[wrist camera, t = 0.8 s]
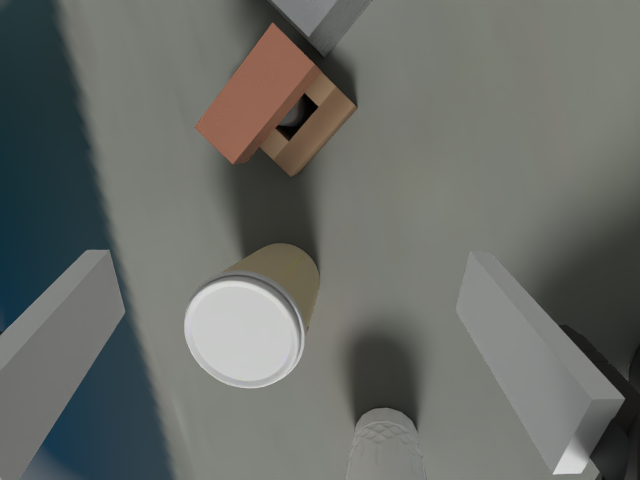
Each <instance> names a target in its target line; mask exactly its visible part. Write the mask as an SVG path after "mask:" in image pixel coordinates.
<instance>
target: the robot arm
mask: <svg viewBox="0 0 640 480" xmlns="http://www.w3.org/2000/svg"><path fill="white" fill-rule="evenodd" d="M455 311H456V312H457V314H458V316H459V317H460V319H461V321H462V322H463V324H464V326H465V327H466V329H467V331H468V333H469V334H470V336H471V338H472V339H473V341H474V343H475V344H476V346H477V348H478V349H479V351H480V353H481V354H482V356H483V358H484V360H485V361H486V363H487V365H488V366H489V368H490V370H491V371H492V373H493V375H494V376H495V378H496V380H497V381H498V383H499V385H500V387H501V388H502V390H503V392H504V393H505V395H506V397H507V398H508V400H509V402H510V403H511V405H512V407H513V409H514V410H515V412H516V414H517V415H518V417H519V419H520V420H521V422H522V424H523V425H524V427H525V429H526V430H527V432H528V434H529V436H530V437H531V439H532V441H533V442H534V444H535V446H536V447H537V449H538V451H539V452H540V454H541V456H542V458H543V459H544V461H545V463H546V464H547V466H548V468H549V469H550V471H551V473H552V474H576V473H582V471H583V469H584V468H585V466H586V464H587V463H588V461H589V459H590V458H591V460H592V461H593V463H594V464H595V466H596V467H597V468H598V470H599V471H600V473H599V474H598V476H597V478H596V479H595V480H640V348H639V349H638V351H637V353H636V355H635V357H634V360H633V363H632V366H631V371H630V383H629V382H628V381H627V380H626V379H625V378H624V377H623V376H622V375H621V374H620V373H619V372H618V371H617V370H616V369H615V368H614V367H613V366H612V365H611V364H608V361H607V360H606V359H605V358H604V357H603V356H602V355H601V354H600V353H598V352H597V350H596V348H595V347H594V346H593V345H592V344H591V343H590V342H589V341H588V340H587V339H586V338H585V337H584V336H582V335H581V334H579V333H577V332H576V331H574V330H573V329H571V328H570V327H568V326H567V325H557V324H556V323H555V322H554V321H553V320H552V319H551V318H550V316H549V315H548V314H547V313H546V312H545V311H544V310H543V309H542V308H541V307H540V306H539V305H538V303H537V302H536V301H535V300H534V299H533V298H532V297H531V296H530V295H529V294H528V293H527V291H526V290H525V289H524V288H523V287H522V286H521V285H520V284H519V283H518V282H517V281H516V280H515V278H514V277H513V276H512V275H511V274H510V273H509V272H508V271H507V270H506V269H505V268H504V267H503V265H502V264H501V263H500V262H499V261H498V260H497V259H496V258H495V257H494V256H493V255H492V254H491V252H470V254H469V258H468V262H467V266H466V270H465V274H464V278H463V282H462V286H461V290H460V294H459V298H458V302H457V306H456V310H455ZM124 313H125V309H124V305H123V302H122V298H121V294H120V290H119V286H118V282H117V278H116V274H115V270H114V266H113V263H112V258H111V255H110V251H109V250H87V251H85V252H84V254H82V255H81V256H80V257H79V258H78V259H77V260H76V261H75V262H74V263H73V264H72V265H71V266H70V267H69V268H68V269H67V270H66V271H65V272H64V273H63V274H62V275H61V276H60V277H59V278H58V279H57V280H56V281H55V282H54V283H53V284H52V285H51V286H50V287H49V288H48V289H47V290H46V291H45V292H44V293H43V294H42V295H41V296H40V297H39V298H38V299H37V300H36V301H35V302H34V303H33V304H32V305H31V306H30V307H29V308H28V309H27V310H26V311H25V312H24V313H23V314H22V315H21V316H20V317H19V318H18V319H17V320H15V321H14V323H12V325H10V326H9V327H8V328H7V329H6V330H5V331H4V332H0V480H19V478H20V477H21V475H22V474H23V472H24V470H25V469H26V467H27V466H28V464H29V462H30V461H31V459H32V458H33V456H34V454H35V453H36V451H37V450H38V448H39V447H40V445H41V444H42V442H43V440H44V439H45V437H46V436H47V434H48V433H49V431H50V430H51V428H52V426H53V425H54V423H55V422H56V420H57V418H58V417H59V415H60V414H61V412H62V411H63V409H64V408H65V406H66V404H67V403H68V401H69V400H70V398H71V397H72V395H73V393H74V392H75V390H76V389H77V387H78V386H79V384H80V382H81V381H82V379H83V378H84V376H85V375H86V373H87V371H88V370H89V368H90V367H91V365H92V364H93V362H94V360H95V359H96V357H97V356H98V354H99V353H100V351H101V349H102V348H103V346H104V345H105V343H106V341H107V340H108V338H109V337H110V335H111V334H112V332H113V331H114V329H115V327H116V326H117V324H118V323H119V321H120V319H121V318H122V316H123V315H124Z"/></svg>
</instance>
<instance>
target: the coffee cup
mask: <svg viewBox="0 0 640 480" xmlns="http://www.w3.org/2000/svg"><path fill="white" fill-rule="evenodd" d="M319 284H320V279H319V273H318V270H317V267H316V265H315V263H314V262H313V260H312V259H311V257H310V256H309V255H308V254H307V253H306V252H305V251H303V250H301V249H300V248H298V247H296V246H294V245H291V244H285V243H275V244H271V245H268V246H265V247H263V248H261V249H259V250H257V251H256V252H254V253H252V254H251V255H249V256H247V257H246V258H244V259H243V260H241V261H239V262H238V263H236V264H234V265H233V266H231V267H230V268H228V269H226V270H225V271H223V272H222V273H220V274H217V275H215V276H213V277H211V278H209V279H208V280H206V281H205V282H203V283H202V284H201V285H200V286H199V287H198V288H197V289H196V291H195V292H194V293H193V295H192V296H191V298H190V300H189V303H188V305H187V309H186V314H185V321H184V330H185V337H186V341H187V344H188V346H189V349H190V351H191V353H192V355H193V356H194V358H195V359H196V361H197V362H198V363H199V364H200V366H201V367H202V368H203V369H204V370H206V371H207V372H208V373H209V374H210V375H212V376H213V377H215V378H216V379H218V380H220V381H222V382H224V383H226V384H229V385H232V386H236V387H241V388H258V387H263V386H267V385H270V384H272V383H274V382H276V381H278V380H280V379H282V378H283V377H285V376H286V375H287V374H289V373H290V372H291V371H292V370H293V369H294V367H295V366H296V364H297V363H298V361H299V360H300V358H301V355H302V353H303V349H304V345H305V339H306V334H307V331H308V328H309V324H310V321H311V317H312V314H313V310H314V306H315V303H316V299H317V295H318V291H319Z"/></svg>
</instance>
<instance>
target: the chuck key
mask: <svg viewBox="0 0 640 480" xmlns="http://www.w3.org/2000/svg"><path fill="white" fill-rule="evenodd" d="M321 72H322V71H321V70H320V69H319V68H318V67H317V66H316V65H315V64H314V63H313V62H312V61H311V60H310V59H309V58H308V57H307V56H306V55H305V54H304V53H303V52H302V51H301V50H300V49H299V48H298V47H297V46H296V45H295V44H294V43H293V42H292V41H291V40H290V39H289V38H288V37H287V36H286V35H285V34H284V33H283V32H282V31H281V30H280V29H279V28H278V27H277V26H276V25H275V24H274V23H272V24H271V25H270V27H269V28H268V29H267V31H266V32H265V33H264V35H263V36H262V37H261V39H260V40H259V41H258V43H257V44H256V45H255V47H254V48H253V49H252V51H251V52H250V53H249V55H248V56H247V57H246V59H245V60H244V61H243V63H242V64H241V65H240V67H239V68H238V69H237V71H236V72H235V73H234V75H233V76H232V78H231V79H230V80H229V82H228V83H227V84H226V86H225V87H224V88H223V90H222V91H221V92H220V94H219V95H218V96H217V98H216V99H215V100H214V102H213V103H212V104H211V106H210V107H209V108H208V110H207V111H206V112H205V114H204V115H203V116H202V118H201V119H200V120H199V122H198V123H197V124H196V126H195V127H194V128H195V129H196V130H197V131H198V132H199V133H200V134H202V135H203V136H204V137H205V138H206V139H207V140H208V141H209V142H210V143H211V144H212V145H213V146H214V147H215V148H216V149H217V150H218V151H219V152H220V153H221V154H222V155H223V156H224V157H226V158H227V159H228V160H229V161H230V162H231V163H232V164H238V163H245V162H247V161H248V160H249V159H250V158H251V157H252V155H253V154H254V153H255V152H256V151H257V149H258V148H259V147H260V146H261V145H262V143H263V142H264V141H265V140H266V139H267V137H268V136H269V135H270V134H271V133H272V131H273V130H274V129H275V128H276V127H277V125H283V126H290V127H300V126H302V125H303V124H304V123H305V122H306V121H307V120H308V119H309V117H310V111H311V110H310V105H309V103H308V101H307V100H306V99H305V98H304V97H302V95H303V94H304V93H305V92H306V90H307V89H308V88H309V87H310V86H311V84H312V83H313V82H314V81H315V80H316V78H317V77H318V76H319V75H320V74H321Z"/></svg>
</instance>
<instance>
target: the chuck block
mask: <svg viewBox="0 0 640 480" xmlns="http://www.w3.org/2000/svg"><path fill="white" fill-rule="evenodd" d="M267 1H268V2H269V3H270V4H271V5H272V6H273V7H274V8H275V9H276V10H277V11H278V12H279V13H280V14H281V15H282V16H283V17H284V18H285V19H286V20H287V21H288V22H289V23H290V24H291V25H292V26H293V27H294V28H295V29H296V30H297V31H298V32H299V33H300V34H301V35H302V36H303V37H304V38H305V39H306V40H307V41H308V42H309V43H310V44H311V45H312V46H313V47H314V48H315V49H316V50H317V51H318V52H319V53H320V54H321V55H322V56H323V57H324V58H325V57H326V56H327V55H328V53H329V52H330V51H331V50H332V49H333V47H334V46H335V45H336V44H337V42H338V41H339V40H340V39H341V38H342V36H343V35H344V34H345V33H346V32H347V30H348V29H349V28H350V27H351V25H352V24H353V23H354V22H355V21H356V19H357V18H358V17H359V16H360V15H361V13H362V12H363V11H364V10H365V8H366V7H367V6H368V5H369V4H370V2H371V1H372V0H267Z"/></svg>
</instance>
